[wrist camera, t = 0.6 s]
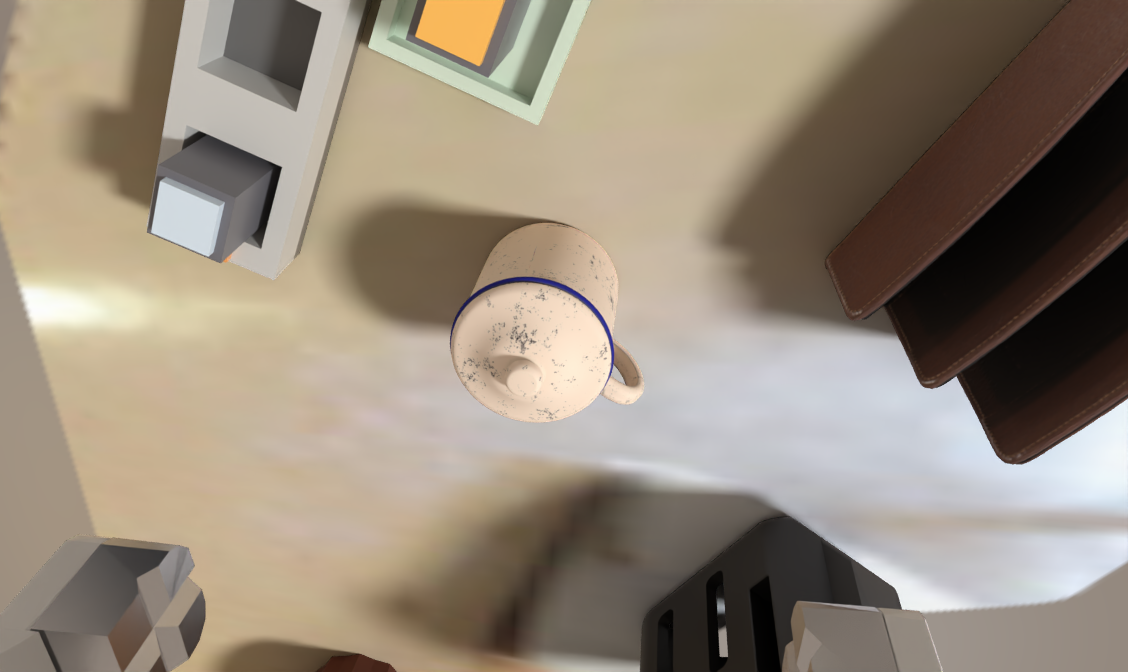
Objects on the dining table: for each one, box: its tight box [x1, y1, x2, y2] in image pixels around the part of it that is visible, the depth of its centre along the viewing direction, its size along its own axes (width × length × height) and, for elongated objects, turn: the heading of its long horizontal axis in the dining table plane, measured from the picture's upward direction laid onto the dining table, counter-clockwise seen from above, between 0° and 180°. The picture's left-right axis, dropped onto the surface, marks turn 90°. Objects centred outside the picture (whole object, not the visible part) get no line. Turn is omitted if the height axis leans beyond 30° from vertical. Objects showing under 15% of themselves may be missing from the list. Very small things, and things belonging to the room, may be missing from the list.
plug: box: [405, 0, 531, 78], centre depth 41 cm, size 4×4×8 cm
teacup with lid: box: [450, 223, 644, 423], centre depth 49 cm, size 12×9×12 cm
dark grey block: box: [147, 135, 282, 263], centre depth 47 cm, size 4×4×8 cm
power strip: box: [147, 0, 372, 280], centre depth 46 cm, size 24×8×5 cm, turn 157°
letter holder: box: [825, 0, 1128, 464], centre depth 41 cm, size 10×20×14 cm, turn 147°
